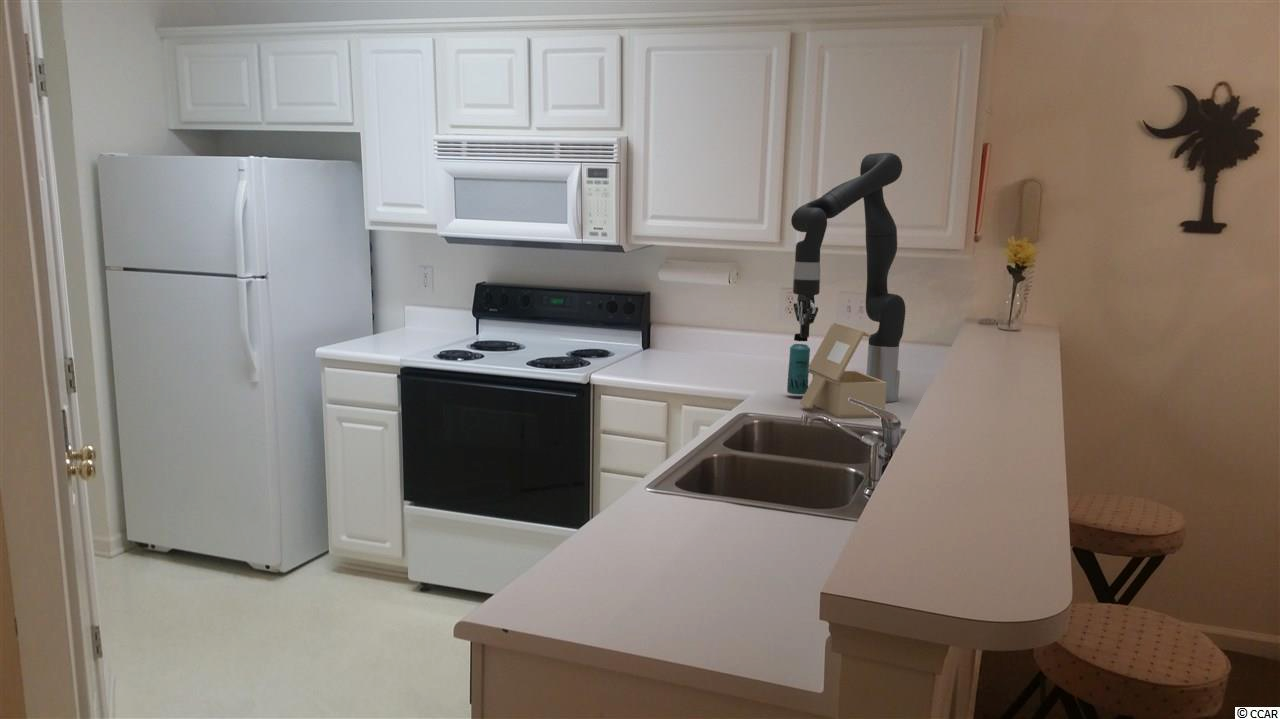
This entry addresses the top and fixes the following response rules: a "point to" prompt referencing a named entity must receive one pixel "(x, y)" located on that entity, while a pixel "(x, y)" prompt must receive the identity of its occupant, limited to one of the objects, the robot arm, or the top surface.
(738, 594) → the top surface
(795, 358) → the beverage bottle
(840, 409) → the mailer box
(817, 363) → the lid
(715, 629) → the top surface
